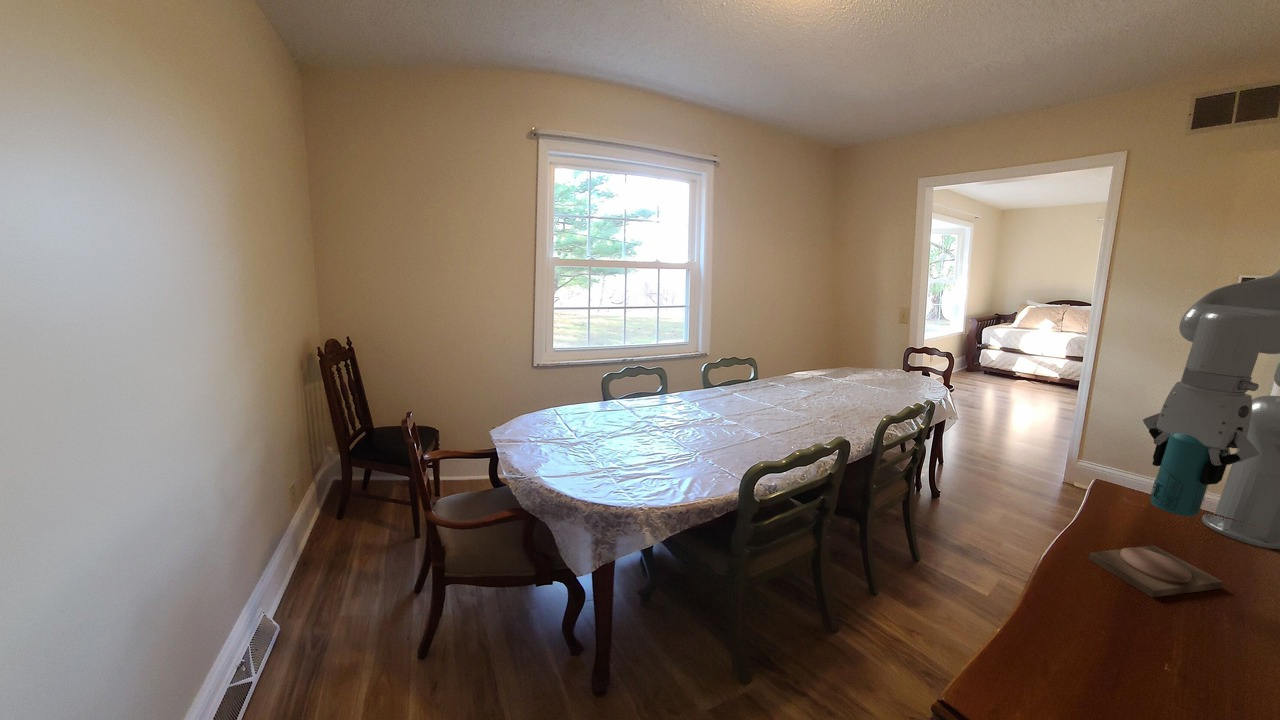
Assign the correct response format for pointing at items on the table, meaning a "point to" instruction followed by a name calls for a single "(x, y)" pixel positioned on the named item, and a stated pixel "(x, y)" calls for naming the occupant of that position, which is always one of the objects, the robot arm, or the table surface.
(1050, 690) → the table surface
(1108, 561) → the rectangular slab with oval
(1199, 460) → the beverage bottle
